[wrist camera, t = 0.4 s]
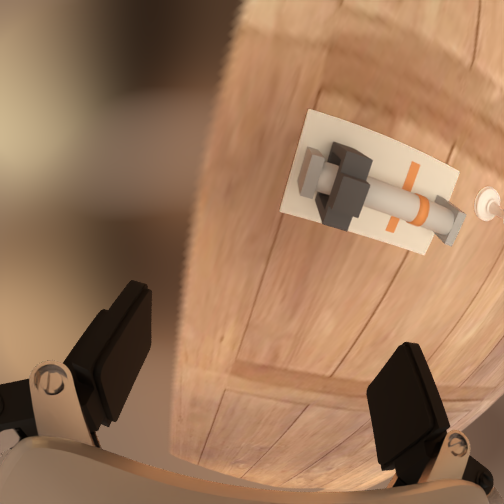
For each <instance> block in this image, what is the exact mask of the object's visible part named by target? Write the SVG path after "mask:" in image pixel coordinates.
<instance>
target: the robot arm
mask: <svg viewBox="0 0 504 504" xmlns="http://www.w3.org/2000/svg"><path fill="white" fill-rule="evenodd" d="M151 301H152V291H151V290H150V289H148V286H147V284H144V283H141V282H137V281H134V280H131V281H130V282H129V283H128V284H127V286H126V287H125V288H124V290H123V291H122V292H121V294H120V295H119V296H118V298H117V299H116V300H115V302H114V303H113V304H112V306H111V307H110V308H109V310H105V309H103V310H101V311H100V312H99V313H98V315H97V316H96V317H95V318H94V320H93V321H92V323H91V324H90V325H89V327H88V328H87V329H86V331H85V332H84V333H83V335H82V336H81V338H80V339H79V340H78V342H77V343H76V345H75V346H74V348H73V349H72V350H71V352H70V353H69V355H68V356H67V358H66V359H65V361H64V362H63V363H61V362H58V361H53V360H47V361H44V362H41V363H39V364H38V365H37V366H35V368H34V369H33V370H32V372H31V374H30V378H29V379H25V380H20V381H16V382H11V383H6V384H1V385H0V457H1V456H2V453H3V452H5V451H6V450H8V449H11V450H10V451H9V453H8V454H7V455H6V457H5V458H4V460H3V461H2V463H1V465H0V504H504V499H503V498H502V497H501V495H500V494H499V492H498V491H497V489H496V488H495V487H494V488H493V476H492V474H491V472H490V471H489V470H488V469H487V468H485V467H484V466H483V465H482V464H480V463H479V462H478V461H476V460H475V459H474V458H472V457H471V456H470V455H469V454H470V443H469V440H468V438H467V437H466V436H465V434H463V433H462V432H461V431H459V430H451V431H450V432H448V433H447V431H446V430H447V429H448V428H449V427H450V424H449V421H448V418H447V415H446V412H445V409H444V406H443V403H442V401H441V398H440V395H439V392H438V390H437V387H436V385H435V382H434V379H433V377H432V374H431V372H430V369H429V367H428V364H427V362H426V360H425V357H424V355H423V353H422V350H421V348H420V346H419V344H417V343H410V342H404V343H403V344H402V345H400V346H399V347H398V348H397V349H396V351H395V352H394V353H393V355H392V356H391V358H390V359H389V360H388V362H387V363H386V364H385V366H384V367H383V368H382V370H381V371H380V372H379V374H378V375H377V376H376V377H375V379H374V380H373V381H372V382H371V384H370V385H369V386H368V388H367V399H368V404H369V410H370V415H371V421H372V426H373V432H374V438H375V445H376V451H377V458H378V462H379V464H381V469H382V471H384V470H393V469H396V473H395V475H394V476H393V478H392V480H391V481H390V483H389V484H388V486H387V488H385V489H375V490H364V491H349V492H292V491H277V490H266V489H257V488H249V487H242V486H234V485H228V484H223V483H217V482H212V481H207V480H203V479H198V478H194V477H189V476H185V475H181V474H178V473H174V472H170V471H167V470H163V469H160V468H156V467H153V466H150V465H146V464H143V463H140V462H137V461H134V460H132V459H128V458H126V457H123V456H120V455H117V454H114V453H111V452H108V451H106V450H103V449H102V448H101V445H100V442H99V440H98V437H97V435H96V431H98V430H99V427H100V425H101V424H102V425H105V426H107V427H109V426H110V424H111V421H114V422H116V421H117V420H118V418H119V415H120V413H121V411H122V408H123V406H124V404H125V402H126V400H127V397H128V395H129V393H130V391H131V389H132V386H133V384H134V382H135V380H136V377H137V375H138V373H139V371H140V369H141V367H142V365H143V363H144V361H145V358H146V357H147V354H148V352H149V350H150V347H151V306H152V302H151Z"/></svg>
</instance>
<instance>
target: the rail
mask: <svg viewBox="0 0 504 504" xmlns="http://www.w3.org/2000/svg"><path fill="white" fill-rule="evenodd" d="M333 141H334V142H337V143H340V144H343V145H346V146H348V147H351V148H354V149H356V150H358V151H359V152H361V153H362V154H364V155H366V156H367V157H369V158H370V159H372V160H373V162H372V165H371V168H370V171H369V174H368V177H367V180H366V181H367V182H368V183H369V184H370V185H371V186H370V188H369V191H368V194H367V196H366V199H365V202H364V205H363V207H362V210H361V212H360V215H359V218H356V217H353V218H352V220H351V223H350V225H349V228H348V231H349V232H353V233H356V234H359V235H363V236H366V237H369V238H372V239H376V240H379V241H382V242H385V243H388V244H392V245H395V246H398V247H401V248H404V249H407V250H410V251H413V252H416V253H419V254H422V255H425V253H426V251H427V249H428V247H429V245H430V243H431V241H432V238H433V236H434V234H436V235H437V236H438V237H439V238H440V239H441V240H442V242H443V243H444V244H447V245H449V246H452V245H453V243H454V241H455V239H456V237H457V235H458V233H459V230H460V228H461V226H462V224H463V221H464V219H465V217H466V214H465V213H464V212H462V211H461V210H460V209H458V208H457V207H456V206H454V205H453V204H452V203H450V202H449V199H450V197H451V194H452V192H453V189H454V187H455V184H456V181H457V179H458V176H459V173H460V171H458V170H456V169H454V168H452V167H451V166H449V165H447V164H445V163H443V162H441V161H439V160H437V159H435V158H433V157H431V156H429V155H427V154H425V153H423V152H421V151H419V150H417V149H415V148H412V147H410V146H408V145H406V144H404V143H401V142H399V141H397V140H394V139H392V138H390V137H387V136H385V135H383V134H380V133H378V132H375V131H373V130H370V129H367V128H365V127H362V126H359V125H357V124H354V123H351V122H348V121H346V120H343V119H340V118H337V117H334V116H331V115H328V114H325V113H321V112H318V111H315V110H312V109H308V111H307V114H306V118H305V121H304V125H303V129H302V132H301V136H300V139H299V143H298V146H297V150H296V153H295V157H294V160H293V164H292V167H291V171H290V174H289V178H288V181H287V185H286V188H285V192H284V195H283V199H282V202H281V206H280V211H279V212H282V213H286V214H290V215H293V216H297V217H301V218H304V219H308V220H311V221H315V222H319V223H322V221H321V218H320V215H319V212H318V209H317V205H316V202H315V198H316V195H317V192H320V193H324V194H327V195H330V193H331V190H332V187H333V184H334V181H335V178H336V175H337V172H338V169H339V166H338V165H335V164H332V163H329V162H327V160H328V157H329V154H330V151H331V147H332V144H333Z"/></svg>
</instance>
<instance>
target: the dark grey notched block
mask: <svg viewBox="0 0 504 504" xmlns="http://www.w3.org/2000/svg"><path fill="white" fill-rule="evenodd" d="M327 162H329V163H332V164H335V165H338V166H339V169H338V172H337V175H336V178H335V181H334V184H333V187H332V190H331V193H330V195H327V194H324V193H320V192H317V195H316V198H315V202H316V205H317V209H318V212H319V215H320V218H321V221H322V224H324V225H327V226H331V227H334V228H337V229H341V230H344V231H348V228H349V225H350V223H351V220H352V218H353V217H356V218H359V215H360V212H361V210H362V207H363V205H364V202H365V199H366V196H367V194H368V191H369V188H370V186H371V185H370V184H369V183H368V182H367V181H366V180H367V177H368V174H369V171H370V168H371V165H372V162H373V160H372V159H370V158H369V157H367V156H366V155H364V154H362V153H361V152H359V151H358V150H356V149H354V148H351V147H348V146H346V145H343V144H340V143H337V142H334V141H333V144H332V147H331V151H330V154H329V157H328V160H327Z"/></svg>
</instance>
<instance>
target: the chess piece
mask: <svg viewBox="0 0 504 504" xmlns="http://www.w3.org/2000/svg"><path fill="white" fill-rule="evenodd" d="M474 210H475V214H476V215H477V217H478V218H479V219H481V220H483V221H489V220H491V219H493V218H494V217H495V216H497V217H500V218H501V219H503V222H504V210H503V209H502V208H501V207H500V197H499V194H498V192H497V191H496V190H495V189H494V188H492V187H490V186H487V187H484V188H482V189H481V190H480V191H479V193H478V194H477V196H476V199H475V203H474Z"/></svg>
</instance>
